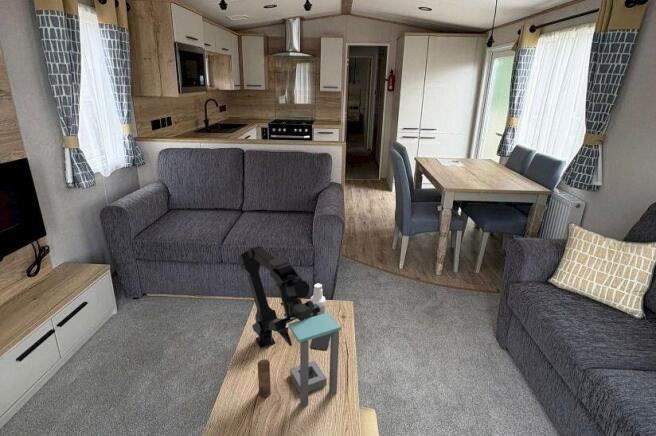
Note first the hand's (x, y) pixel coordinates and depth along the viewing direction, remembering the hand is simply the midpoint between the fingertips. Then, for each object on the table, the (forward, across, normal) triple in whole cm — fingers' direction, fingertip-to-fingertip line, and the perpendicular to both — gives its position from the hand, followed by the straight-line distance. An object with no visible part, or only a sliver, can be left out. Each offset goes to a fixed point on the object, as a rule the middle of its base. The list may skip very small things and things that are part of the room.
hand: (301, 340), depth 133 cm
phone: (+9, +20, +20) cm, 29 cm away
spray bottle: (+4, +26, +29) cm, 39 cm away
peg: (+14, -14, +10) cm, 22 cm away
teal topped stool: (+18, 0, +1) cm, 18 cm away
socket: (+16, +1, +6) cm, 17 cm away
